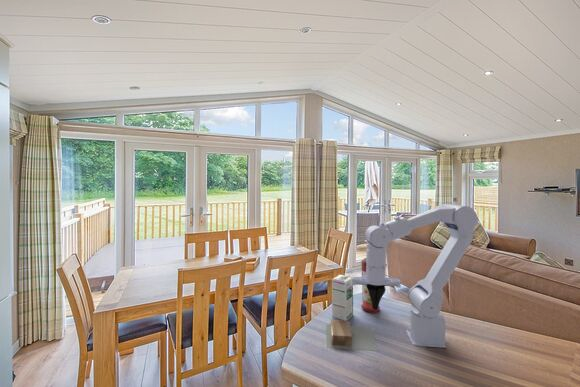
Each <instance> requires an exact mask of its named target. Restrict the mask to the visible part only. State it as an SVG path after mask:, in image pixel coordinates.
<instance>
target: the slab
mask: <svg viewBox="0 0 580 387" xmlns="http://www.w3.org/2000/svg"><path fill="white" fill-rule="evenodd" d="M330 325H331V343H332V345H343V346H352V334H351V329H350V326H351V324H350V321H349V320H347V321H344V320H341V319H338V320H336V319H330Z"/></svg>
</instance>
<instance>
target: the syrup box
mask: <svg viewBox="0 0 580 387" xmlns="http://www.w3.org/2000/svg"><path fill="white" fill-rule="evenodd" d="M351 277H352V276H350V275H344V274H338V275H337V276H335V277H333V278H332V279H331V315H332V316H331V317H333V318H335V319H338V320H341V321H349V319H350V318H352V317H353V315H354V285H352V284H351Z"/></svg>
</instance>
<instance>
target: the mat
mask: <svg viewBox="0 0 580 387" xmlns="http://www.w3.org/2000/svg"><path fill="white" fill-rule="evenodd" d="M325 326H326V327H325V332H326V335H325V337H326V338H325V339H326V348H327V349H329V348H330V349H341V350H342V349H343V350H359V351H372V352H373V351H375V352H379V349H378V345H377V342H376V339H375V336H374V332H373V329H372V327H371V326H362V325H361V326H359V325H350V329H351V334H352V346H343V345H332V343H331V324H326V325H325Z"/></svg>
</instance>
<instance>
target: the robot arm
mask: <svg viewBox="0 0 580 387" xmlns="http://www.w3.org/2000/svg"><path fill="white" fill-rule="evenodd" d="M478 221H479V218H478V217H477V214H476V211H475V210H474V208H472V207H471V206H468V205H459V204H454V203H451V202H450V203H449V202H446V203H444V204H439V205H436V206H435V207H433V208H431V209H428V210H426V211H423V212H421V213H419V214H416V215H414V216H411V217H409V218H406V217H404V216H401V217H400V216H394V217H393V219H392V220H389V221H386V222H379V224H378V225H373V224H372V225H370V226H369V227H367V229H366V230H365V233H364V238H365V240H366V257H365V258H366V276H362V275H361V276H350V277H351V284H352V285H353V286H356V285H359V286H362V285H366V286H367V289H368V291H369V294H370V297H371V302H372V308H373V309H375V310H378V305H379V306H380V302H381V300H382V298H383V296H384V294H385V292H386V287H396V288H401V280H400V279H399V278H392V277H387V276H386V268H387V267H386V266H387V246H388V245H389V243H390V242H392V241H395V240H398V239H401V238H403V237H406V236H409V235H411V233H412V231H413V230H414V229H417V228H420V227H424V226H427V225H430V224H434V223H437V222H439V223H443V224H444V225H445V227H446V229H447V230H448V233H449V234H450V236H449V239H447V241H446V243H445V245H444V246H443V248H442V250H441V251H440V253H439V255H438V256H437V257H436V260H435V261H434V263H433V265H431V268H430V270H429V271H428V273H427V275H426V276H425V278H423V279H420V280H418V281H417V282H416V284H414V286H412V287H411V288H410V289H409V290H408V292H407V298H408V301H409V302H410V304H411V305H410V306H411V307H410V327H409V328H410V330H405V333H406V334H407V336H408V338H409V340H410V342H411V343H412V345H413V346H418V347H419V346H420V347H429V348H447V345H446V329H447V328H446V325H447V324H446V321H445V320H446V319H445V316H444V314H443V313H442V312H441V310H442V305H443V304H442V303H444V302H443V301H444V300H445V296H444V292H443V289H444V287H445V286H446V284H447V282H448V281H449V279H450V277H451V276H452V274H453V273H454V271H455V269H456V268H457V266H458V264H459V263H460V261H461V259H462V258H463V256H464V255H465V253H466V251H467V250H468V249H469V247H470V245H471V244H472V242H473V239H474V232H475V226H476V225H477V223H479V222H478ZM378 311H379V310H378Z"/></svg>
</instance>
